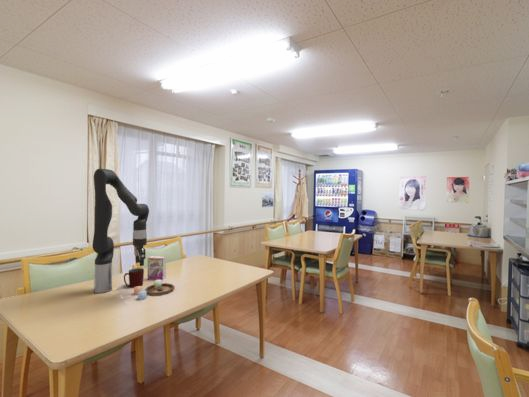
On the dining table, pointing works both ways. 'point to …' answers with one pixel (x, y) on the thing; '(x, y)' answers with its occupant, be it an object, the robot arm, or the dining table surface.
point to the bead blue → (142, 295)
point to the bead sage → (157, 284)
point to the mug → (135, 277)
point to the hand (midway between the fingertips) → (139, 264)
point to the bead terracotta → (137, 289)
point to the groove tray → (160, 290)
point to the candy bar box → (156, 268)
